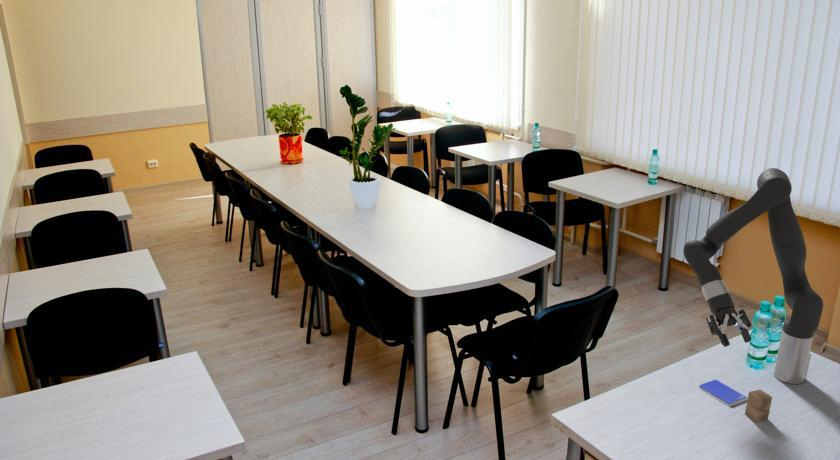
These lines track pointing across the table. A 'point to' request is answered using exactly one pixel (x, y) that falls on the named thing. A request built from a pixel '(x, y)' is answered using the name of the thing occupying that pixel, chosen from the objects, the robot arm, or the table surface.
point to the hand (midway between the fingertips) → (737, 343)
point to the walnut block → (758, 405)
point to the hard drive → (723, 392)
